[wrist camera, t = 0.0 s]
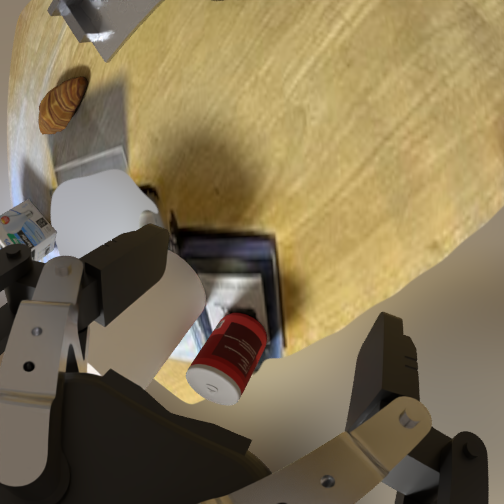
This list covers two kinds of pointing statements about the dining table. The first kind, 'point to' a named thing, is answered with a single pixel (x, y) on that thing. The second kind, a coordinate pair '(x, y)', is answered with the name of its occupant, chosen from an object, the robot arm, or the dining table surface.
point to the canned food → (228, 359)
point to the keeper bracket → (104, 21)
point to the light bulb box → (27, 230)
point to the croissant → (61, 105)
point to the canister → (149, 326)
